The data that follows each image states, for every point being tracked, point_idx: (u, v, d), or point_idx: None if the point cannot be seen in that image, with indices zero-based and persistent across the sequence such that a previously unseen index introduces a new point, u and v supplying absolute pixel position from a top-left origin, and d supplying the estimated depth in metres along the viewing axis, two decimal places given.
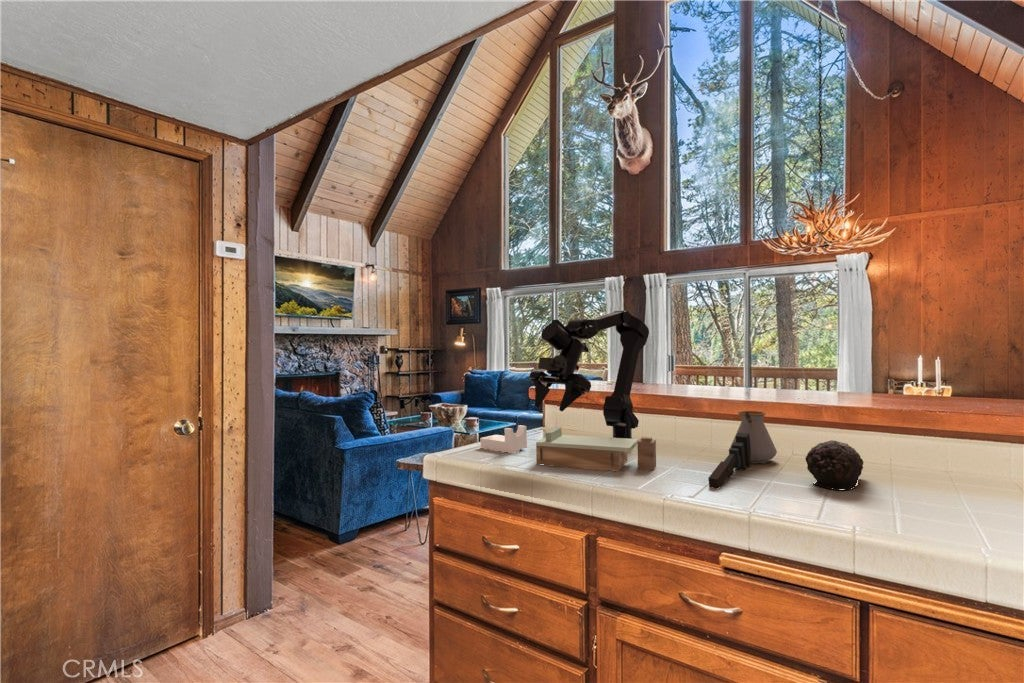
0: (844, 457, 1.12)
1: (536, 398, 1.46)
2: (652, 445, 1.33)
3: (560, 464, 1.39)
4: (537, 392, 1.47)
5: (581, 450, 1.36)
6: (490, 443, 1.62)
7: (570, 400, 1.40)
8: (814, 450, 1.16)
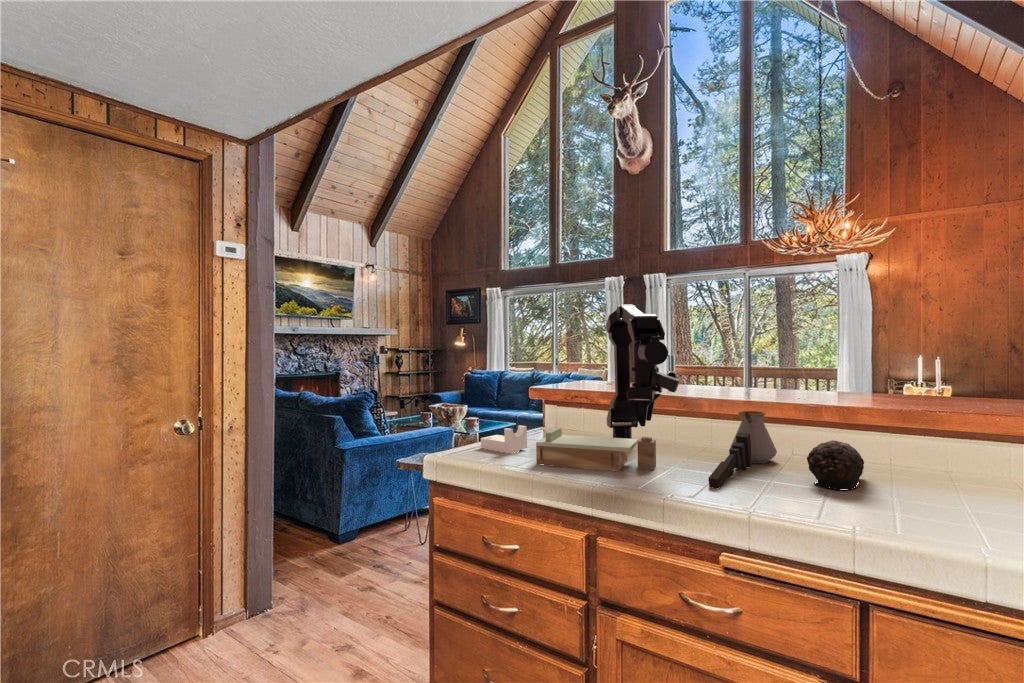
0: (846, 457, 1.12)
1: (646, 417, 1.31)
2: (652, 445, 1.33)
3: (560, 464, 1.39)
4: (647, 411, 1.31)
5: (581, 450, 1.36)
6: (490, 443, 1.61)
7: None
8: (815, 450, 1.16)
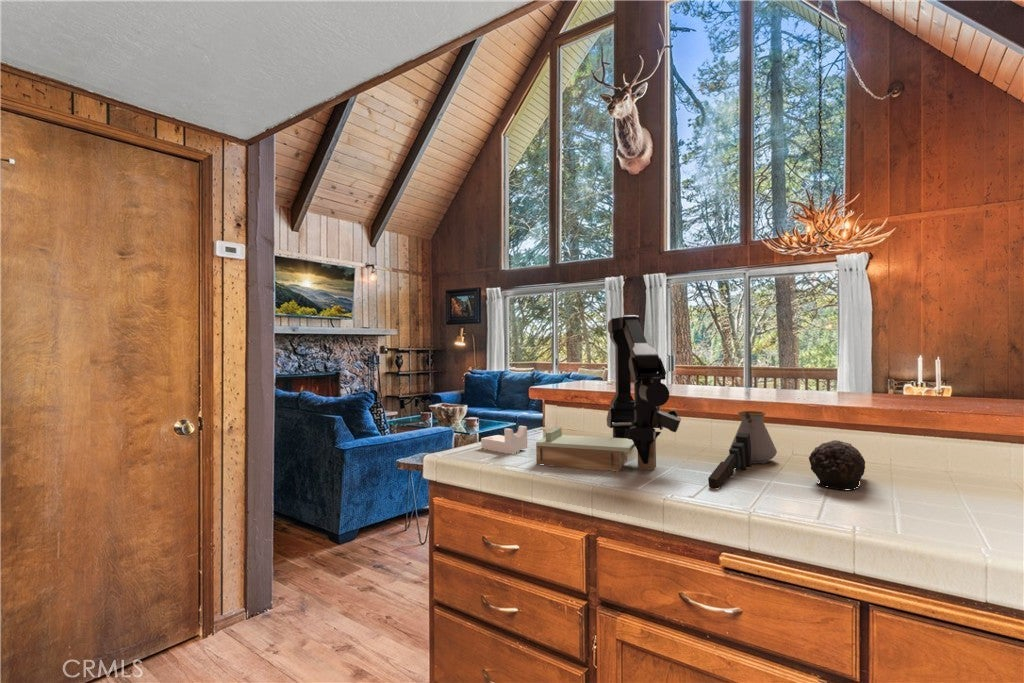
0: (849, 457, 1.12)
1: (648, 455, 1.33)
2: (652, 445, 1.33)
3: (560, 464, 1.39)
4: (649, 449, 1.33)
5: (581, 450, 1.36)
6: (490, 443, 1.61)
7: None
8: (818, 450, 1.16)
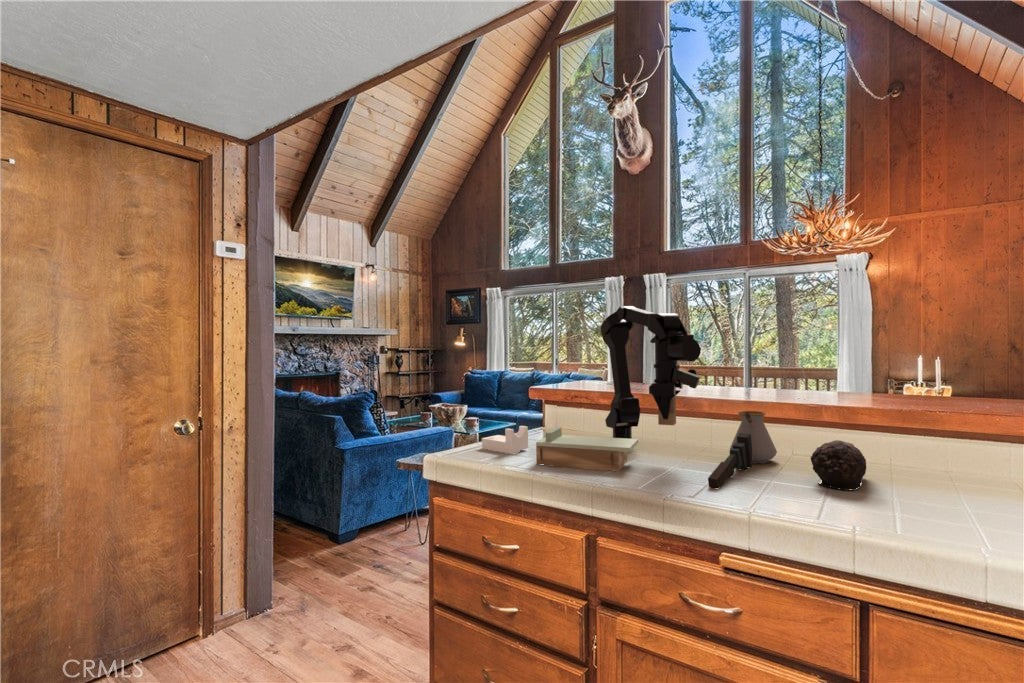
0: (851, 457, 1.12)
1: None
2: (672, 401, 1.39)
3: (560, 464, 1.39)
4: None
5: (581, 450, 1.36)
6: (491, 443, 1.61)
7: None
8: (820, 450, 1.16)
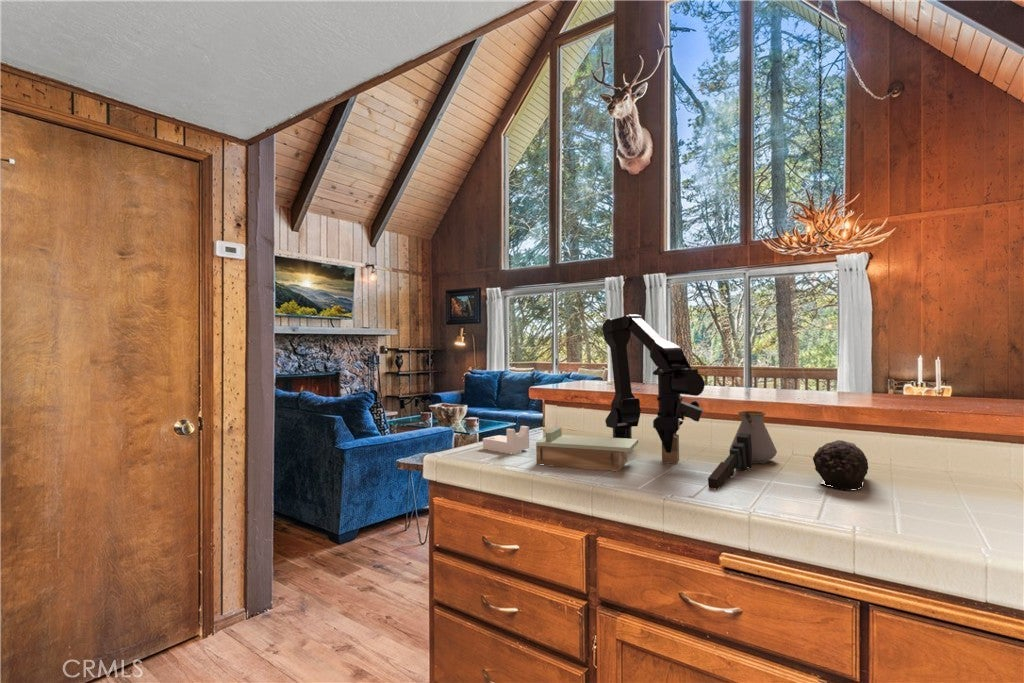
0: (854, 457, 1.12)
1: None
2: (676, 439, 1.40)
3: (560, 464, 1.39)
4: None
5: (581, 450, 1.36)
6: (492, 443, 1.61)
7: None
8: (822, 450, 1.16)
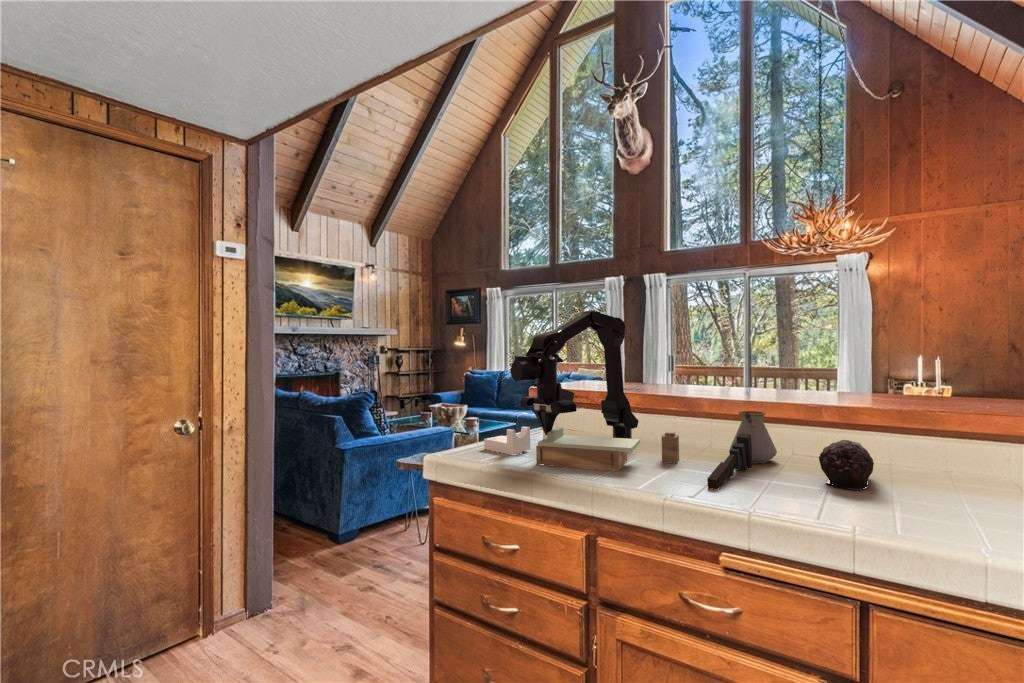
0: (861, 457, 1.12)
1: None
2: (676, 439, 1.40)
3: (560, 464, 1.39)
4: None
5: (581, 450, 1.36)
6: (493, 444, 1.60)
7: None
8: (829, 450, 1.16)
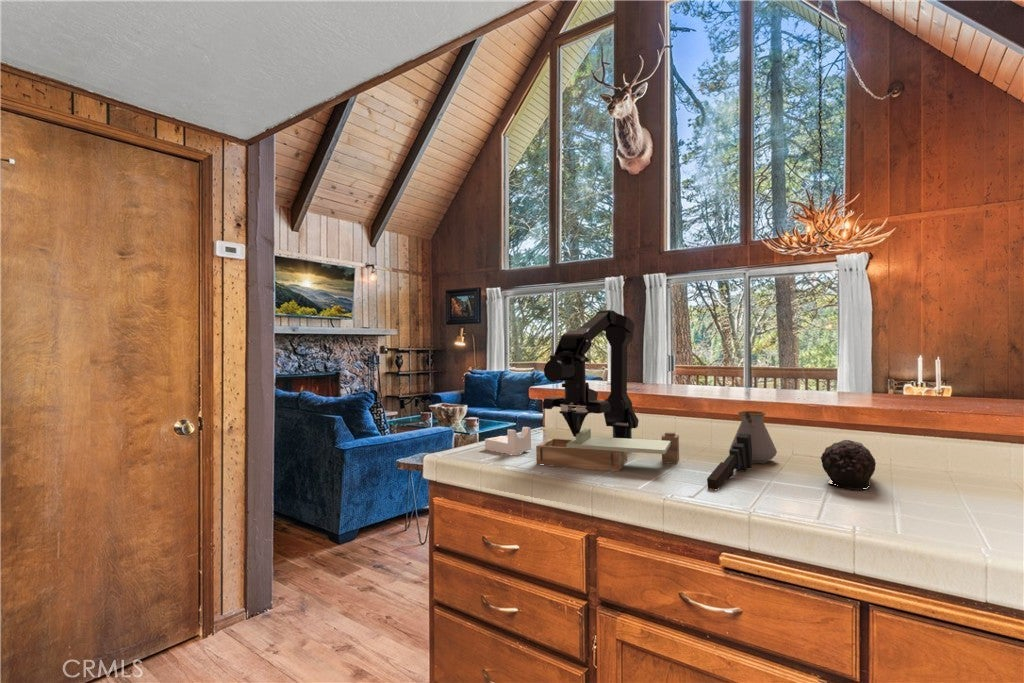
0: (863, 457, 1.12)
1: None
2: (676, 440, 1.40)
3: (560, 464, 1.39)
4: None
5: (581, 450, 1.36)
6: (493, 444, 1.59)
7: None
8: (831, 450, 1.16)
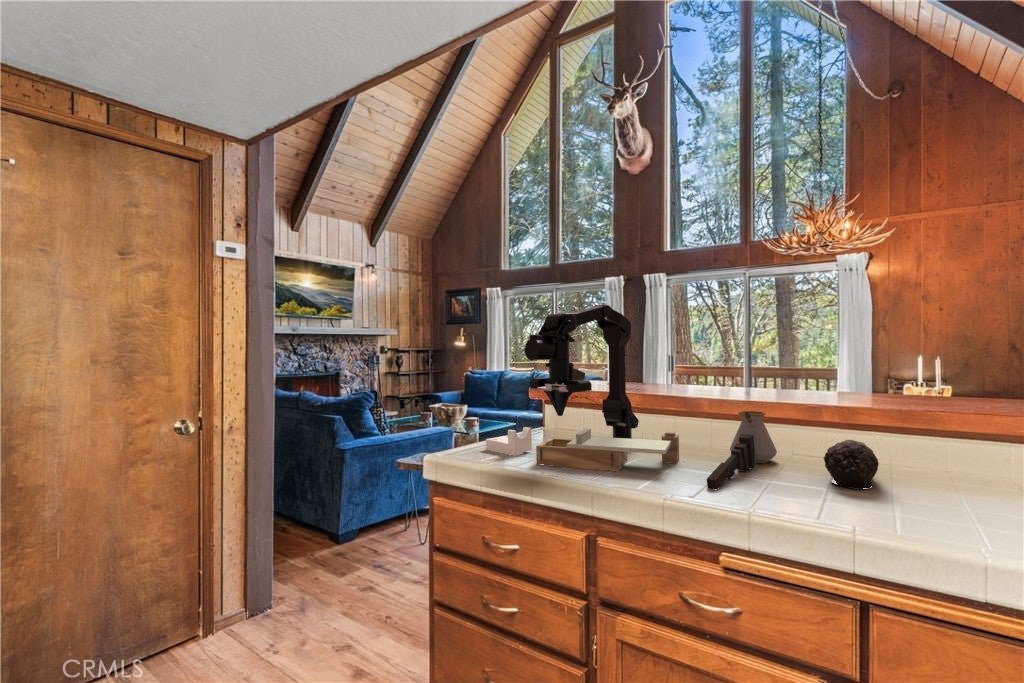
0: (867, 456, 1.12)
1: None
2: (676, 440, 1.40)
3: (560, 464, 1.39)
4: None
5: (581, 450, 1.36)
6: (494, 444, 1.59)
7: None
8: (834, 450, 1.16)
